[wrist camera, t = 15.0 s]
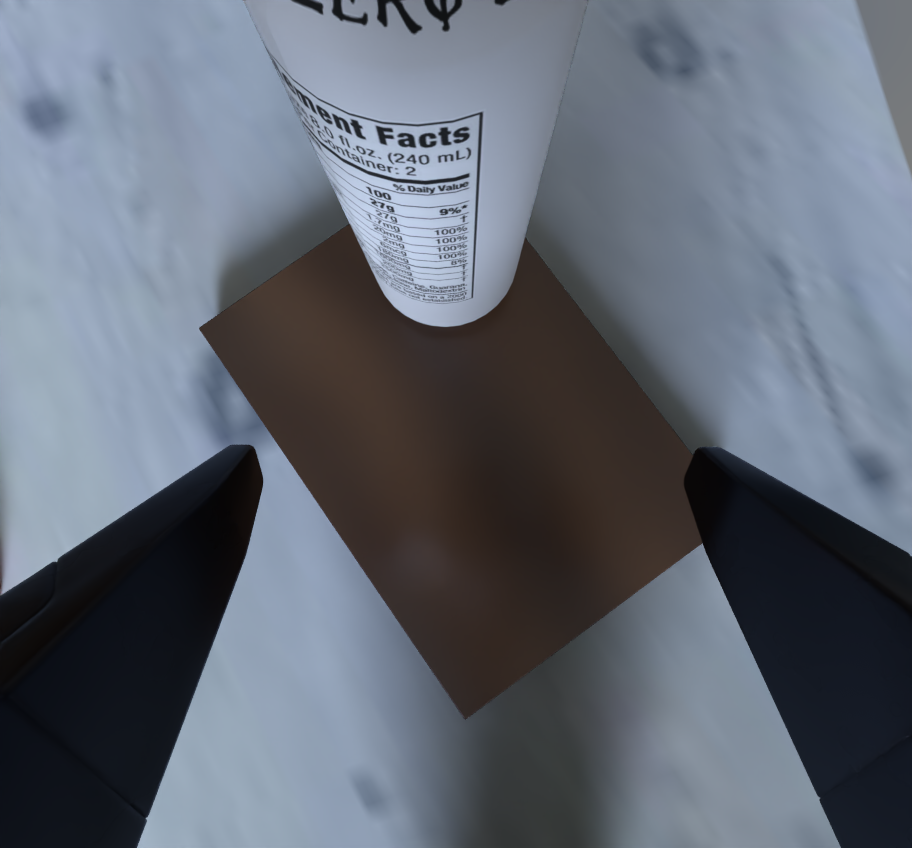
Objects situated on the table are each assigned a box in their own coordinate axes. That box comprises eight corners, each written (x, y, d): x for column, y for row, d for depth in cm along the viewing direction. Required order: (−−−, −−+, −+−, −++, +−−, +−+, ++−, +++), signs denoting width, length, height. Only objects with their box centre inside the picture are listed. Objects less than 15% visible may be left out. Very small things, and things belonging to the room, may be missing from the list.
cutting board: (465, 701, 20) (464, 720, 19) (216, 337, 22) (197, 327, 20) (719, 511, 21) (740, 515, 19) (457, 169, 22) (457, 148, 21)
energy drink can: (543, 265, 20) (773, -311, 5) (446, 361, 20) (391, 50, 5) (445, 173, 21) (396, -599, 6) (349, 267, 20) (25, -286, 5)
